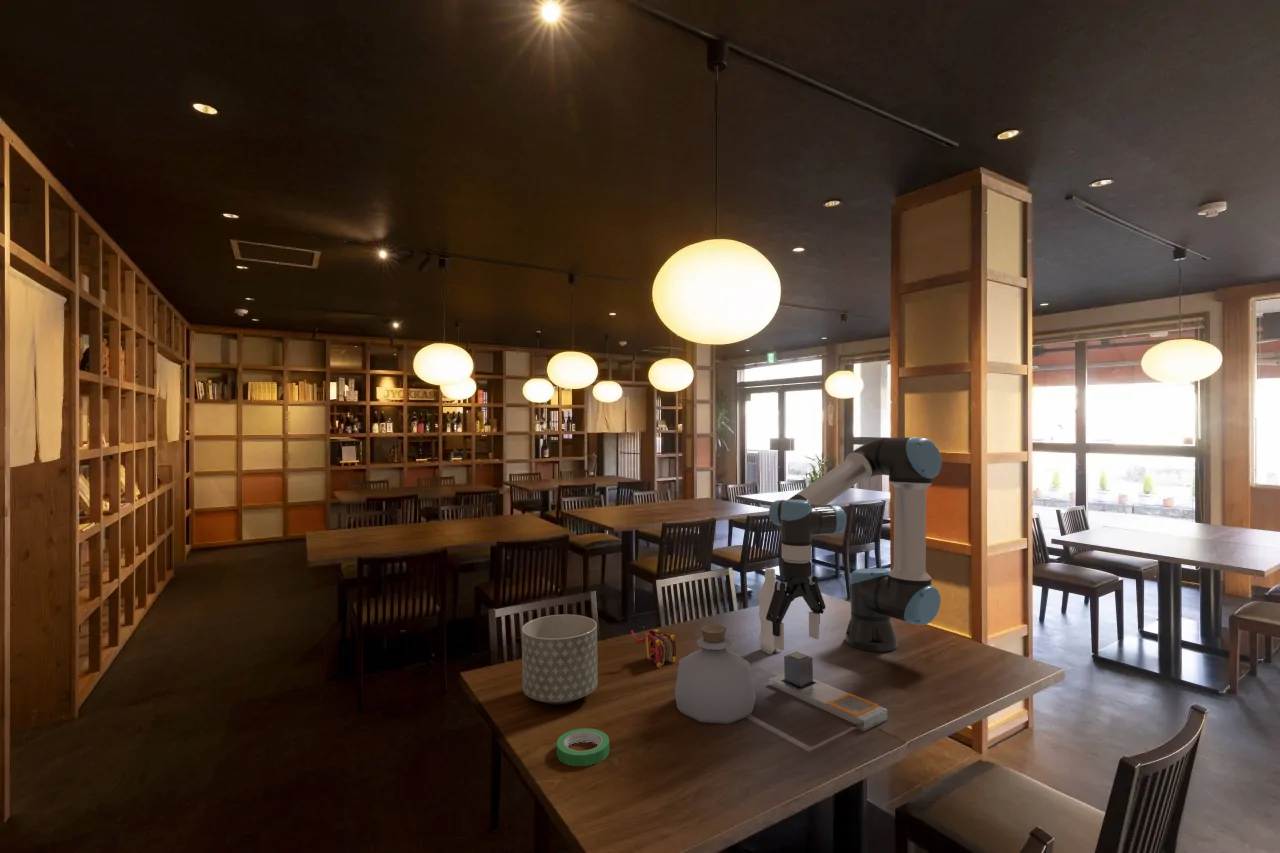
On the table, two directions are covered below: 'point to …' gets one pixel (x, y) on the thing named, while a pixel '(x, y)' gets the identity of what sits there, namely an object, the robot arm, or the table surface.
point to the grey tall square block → (798, 670)
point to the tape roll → (585, 756)
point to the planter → (559, 658)
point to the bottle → (714, 681)
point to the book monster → (659, 646)
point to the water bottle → (764, 603)
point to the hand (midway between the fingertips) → (796, 643)
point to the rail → (836, 702)
